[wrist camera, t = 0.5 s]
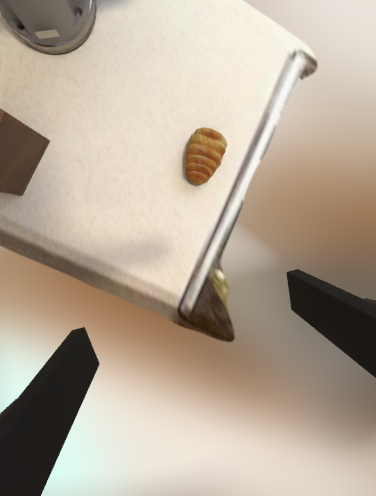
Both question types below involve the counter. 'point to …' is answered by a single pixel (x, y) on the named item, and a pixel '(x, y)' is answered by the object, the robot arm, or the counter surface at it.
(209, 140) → the pastry
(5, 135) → the chest
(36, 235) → the counter surface
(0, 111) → the lid
